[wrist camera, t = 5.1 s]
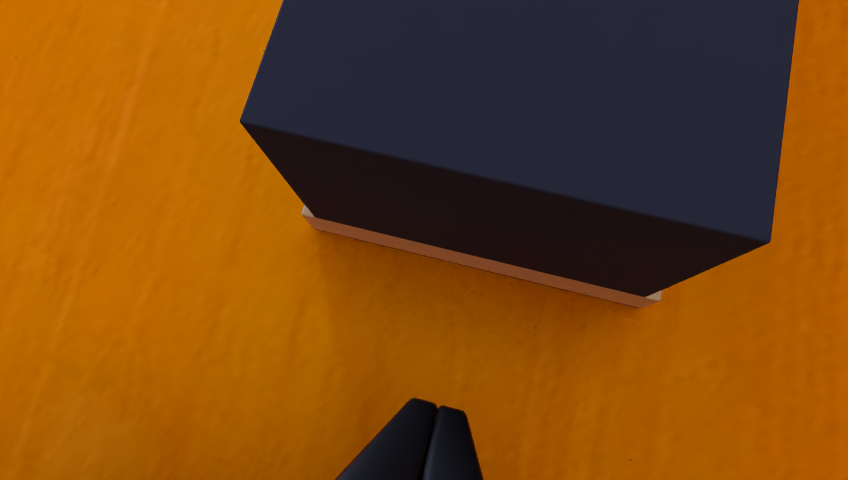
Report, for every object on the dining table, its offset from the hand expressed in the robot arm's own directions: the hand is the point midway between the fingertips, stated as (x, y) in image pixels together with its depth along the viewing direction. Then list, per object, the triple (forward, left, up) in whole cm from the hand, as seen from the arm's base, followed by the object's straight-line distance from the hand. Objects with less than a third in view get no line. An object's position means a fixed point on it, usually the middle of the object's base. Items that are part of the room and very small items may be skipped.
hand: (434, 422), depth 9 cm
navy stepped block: (+7, -12, -8) cm, 16 cm away
